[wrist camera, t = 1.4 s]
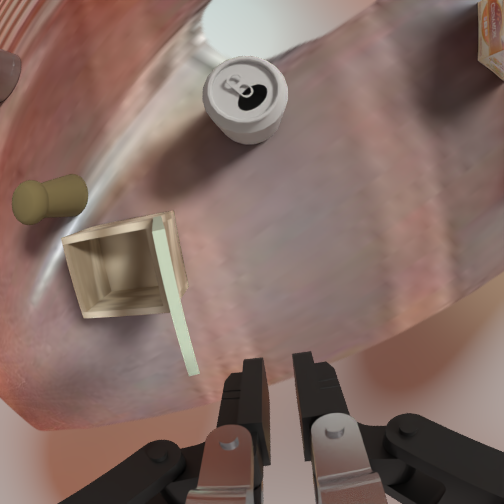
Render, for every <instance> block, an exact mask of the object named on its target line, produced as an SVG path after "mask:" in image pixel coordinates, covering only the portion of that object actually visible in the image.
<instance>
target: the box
mask: <svg viewBox="0 0 504 504" xmlns="http://www.w3.org/2000/svg"><path fill="white" fill-rule="evenodd" d="M158 216H161V218H162V221H163V224H164V228H165V232H166V237H167V242H168V247H169V252H170V257H171V262H172V266H173V271H174V275H175V280H176V284H177V288H178V293H179V297H180V299H181V298H182V296H183V295H184V293H185V292H186V290H187V288H188V287H189V286H188V281H187V276H186V272H185V267H184V262H183V257H182V252H181V247H180V242H179V237H178V232H177V227H176V221H175V216H174V211H168V212H163V213H157V214H152V215H147V216H142V217H137V218H132V219H127V220H122V221H117V222H112V223H107V224H102V225H98V226H94V227H91V228H88V229H85V230H82V231H79V232H77V233H74V234H71V235H68V236H66V237H63V238H61V239H62V244H63V248H64V252H65V257H66V261H67V264H68V268H69V272H70V276H71V279H72V283H73V286H74V290H75V293H76V296H77V299H78V303H79V306H80V309H81V312H82V315H83V318H102V317H118V316H133V315H146V314H159V313H171V312H170V308H169V304H168V300H167V296H166V292H165V288H164V284H163V280H162V275H161V271H160V267H159V262H158V258H157V253H156V248H155V244H154V239H153V234H152V225H153V217H158Z"/></svg>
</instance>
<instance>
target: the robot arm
mask: <svg viewBox="0 0 504 504" xmlns="http://www.w3.org/2000/svg"><path fill="white" fill-rule="evenodd" d="M20 70H21V60H20V58H19V56H18V55H16V54H13V53H10V52H8V51H5V50H2V49H0V102H2V101H3V100H5V99H6V98H7V97H8V96H9V94H10V93H11V92H12V90H13V89H14V87H15V85H16V83H17V80H18V78H19V75H20ZM292 357H293V367H294V377H295V387H296V396H297V403H298V411H299V417H300V426H301V433H302V441H303V449H304V457H305V461H311V462H312V469H313V484H314V492H315V502H316V504H388V502H387V499H386V496H385V493H386V494H388V495H389V496H391V497H392V498H394V499H396V500H397V501H399V502H400V503H402V504H504V452H502V451H499V450H497V449H494V448H492V447H489V446H487V445H485V444H482V443H480V442H477V441H475V440H473V439H471V438H468V437H466V436H464V435H461V434H459V433H457V432H454V431H452V430H450V429H448V428H446V427H443V426H442V425H439V424H437V423H435V422H433V421H431V420H429V419H426V418H424V417H422V416H420V415H417V414H411V413H407V414H402V415H398V416H396V417H394V418H393V419H391V420H390V421H389V422H388V424H387V426H368V425H363V424H361V423H358V422H356V420H355V419H354V418H353V417H351V416H350V414H349V411H348V409H347V405H346V402H345V399H344V396H343V393H342V390H341V387H340V384H339V381H338V379H337V375H336V372H335V369H334V368H333V367H332V366H331V365H330V364H328V363H327V362H321V363H314V361H313V357H312V353H311V351H309V352H302V353H295V354H292ZM269 403H270V402H269V391H268V384H267V378H266V372H265V366H264V360H263V358H254V359H244V362H243V371H242V372H239V373H231V374H230V376H229V377H228V378H227V379H226V381H225V383H224V388H223V394H222V400H221V406H220V411H219V416H218V422H217V428H216V429H214V430H213V431H212V432H210V434H209V435H208V436H207V438H206V441H205V442H203V443H201V444H198V445H195V446H191V447H187V448H182V449H180V448H179V447H178V445H177V444H175V443H174V442H172V441H169V440H157V441H153V442H150V443H148V444H147V445H145V446H143V447H142V448H141V449H139V450H138V451H137V452H135V453H134V454H132V455H131V456H130V457H128V458H127V459H126V460H124V461H123V462H121V463H120V464H118V465H117V466H115V467H114V468H113V469H111V470H110V471H108V472H107V473H105V474H104V475H102V476H101V477H99V478H98V479H96V480H95V481H93V482H92V483H90V484H89V485H87V486H85V487H84V488H82V489H81V490H79V491H78V492H76V493H74V494H73V495H71V496H70V497H68V498H66V499H65V500H63V501H61V502H60V503H58V504H263V466H267V465H271V462H270V461H271V460H270V459H271V458H270V457H271V456H270V404H269Z"/></svg>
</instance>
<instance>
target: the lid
mask: <svg viewBox="0 0 504 504" xmlns="http://www.w3.org/2000/svg"><path fill="white" fill-rule="evenodd" d="M152 234H153V239H154V244H155V248H156V253H157V258H158V262H159V267H160V271H161V275H162V280H163V284H164V288H165V292H166V296H167V300H168V304H169V308H170V312H171V316H172V319H173V323H174V327H175V330H176V334H177V337H178V341H179V344H180V348H181V351H182V355H183V358H184V361H185V365H186V368H187V371H188V374H189V376H192V375H196V374H200V372H199V369H198V365H197V362H196V358H195V355H194V351H193V348H192V344H191V340H190V337H189V333H188V329H187V325H186V321H185V317H184V313H183V309H182V305H181V301H180V297H179V293H178V288H177V284H176V280H175V275H174V271H173V266H172V262H171V257H170V252H169V247H168V242H167V237H166V232H165V228H164V224H163V221H162V218H161V216H158V217H153V225H152Z"/></svg>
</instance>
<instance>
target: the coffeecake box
mask: <svg viewBox="0 0 504 504" xmlns="http://www.w3.org/2000/svg"><path fill="white" fill-rule="evenodd" d="M478 61H479V62H480V63H482V64H483V65H484V66H486V67H487V68H488V69H490V70H491V71H493V72H494V73H495V74H496V75H497V76H498V77H499V78H500V79H502V80H503V81H504V0H482V1H480V2H478Z"/></svg>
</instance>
